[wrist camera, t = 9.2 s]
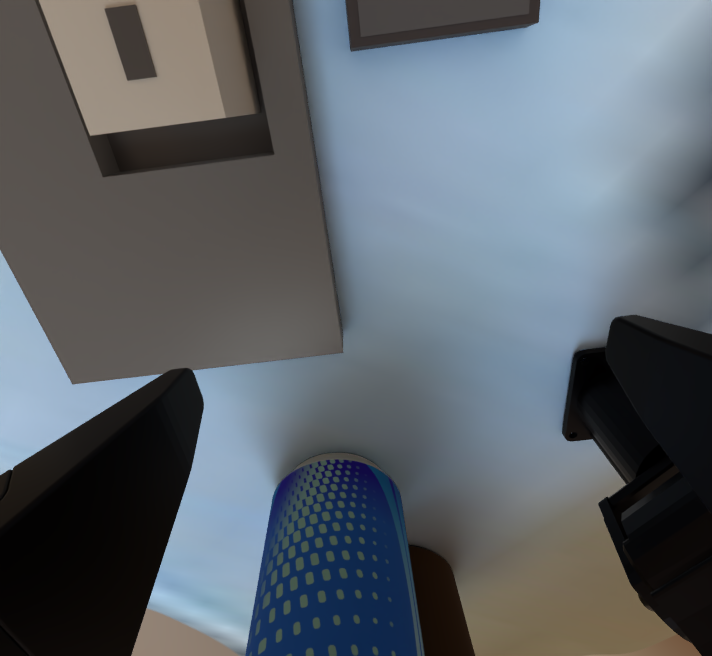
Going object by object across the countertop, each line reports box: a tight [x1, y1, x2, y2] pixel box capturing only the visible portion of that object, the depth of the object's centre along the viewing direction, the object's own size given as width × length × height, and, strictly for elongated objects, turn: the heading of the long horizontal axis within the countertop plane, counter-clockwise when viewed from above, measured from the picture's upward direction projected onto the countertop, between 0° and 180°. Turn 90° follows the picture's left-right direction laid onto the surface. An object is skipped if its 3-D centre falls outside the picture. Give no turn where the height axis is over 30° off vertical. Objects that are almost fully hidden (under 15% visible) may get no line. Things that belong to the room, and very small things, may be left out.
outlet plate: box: [0, 0, 343, 384], centre depth 18 cm, size 18×14×2 cm
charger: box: [39, 0, 261, 136], centre depth 14 cm, size 4×4×6 cm
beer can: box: [245, 453, 425, 656], centre depth 22 cm, size 8×8×16 cm
